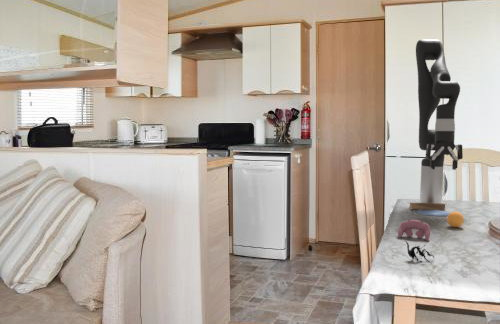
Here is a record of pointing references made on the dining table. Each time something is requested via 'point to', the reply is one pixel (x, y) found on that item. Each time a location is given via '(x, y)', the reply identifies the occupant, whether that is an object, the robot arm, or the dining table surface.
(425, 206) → the strip
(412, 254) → the creature
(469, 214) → the dining table surface
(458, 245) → the dining table surface
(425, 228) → the video game controller
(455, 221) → the ball
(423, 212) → the mark
